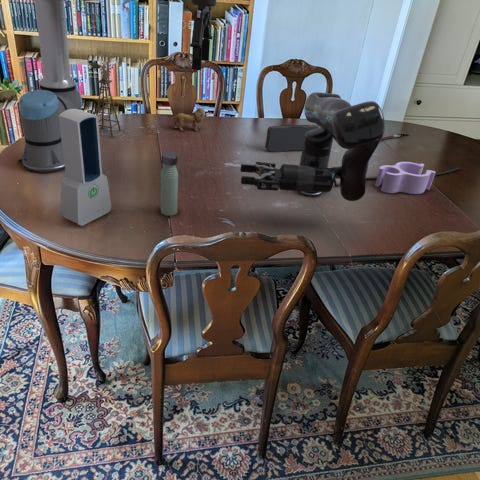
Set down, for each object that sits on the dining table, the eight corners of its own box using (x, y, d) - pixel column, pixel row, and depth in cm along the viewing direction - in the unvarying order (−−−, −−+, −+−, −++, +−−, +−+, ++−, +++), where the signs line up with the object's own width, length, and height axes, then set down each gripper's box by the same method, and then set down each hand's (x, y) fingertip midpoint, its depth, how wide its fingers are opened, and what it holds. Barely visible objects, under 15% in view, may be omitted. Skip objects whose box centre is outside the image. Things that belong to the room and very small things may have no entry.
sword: (406, 132, 223) (406, 130, 222) (411, 134, 221) (412, 132, 220) (362, 144, 207) (363, 141, 206) (368, 146, 205) (368, 143, 204)
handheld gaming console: (315, 147, 196) (319, 124, 190) (317, 149, 194) (322, 126, 188) (264, 149, 189) (267, 125, 183) (266, 152, 187) (269, 127, 181)
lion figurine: (202, 126, 204) (203, 106, 200) (205, 130, 200) (206, 110, 196) (169, 127, 200) (169, 106, 195) (172, 132, 195) (172, 110, 191)
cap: (168, 167, 129) (168, 159, 128) (158, 161, 131) (158, 154, 130) (180, 163, 132) (180, 155, 130) (171, 158, 134) (171, 150, 133)
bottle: (167, 217, 137) (167, 161, 128) (157, 210, 140) (157, 155, 130) (180, 212, 140) (182, 157, 131) (170, 205, 143) (171, 151, 134)
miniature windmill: (112, 137, 184) (107, 58, 168) (92, 134, 185) (85, 54, 169) (121, 130, 192) (117, 53, 176) (102, 127, 193) (96, 50, 177)
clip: (387, 196, 162) (393, 178, 159) (368, 180, 172) (373, 163, 168) (434, 192, 169) (440, 175, 165) (413, 177, 178) (419, 160, 175)
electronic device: (79, 228, 128) (67, 121, 112) (60, 218, 131) (46, 113, 115) (112, 211, 137) (105, 110, 121) (94, 202, 140) (85, 103, 124)
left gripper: (209, -5, 127) (205, 75, 138) (223, -12, 148) (218, 58, 159) (181, -8, 127) (180, 72, 139) (199, -15, 148) (197, 55, 160)
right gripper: (295, 156, 139) (241, 152, 138) (302, 176, 127) (242, 171, 126) (291, 179, 143) (239, 175, 142) (297, 201, 131) (240, 196, 130)
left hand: (200, 65), depth 149 cm, fingers open, 13 cm apart
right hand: (240, 173), depth 134 cm, fingers open, 8 cm apart
